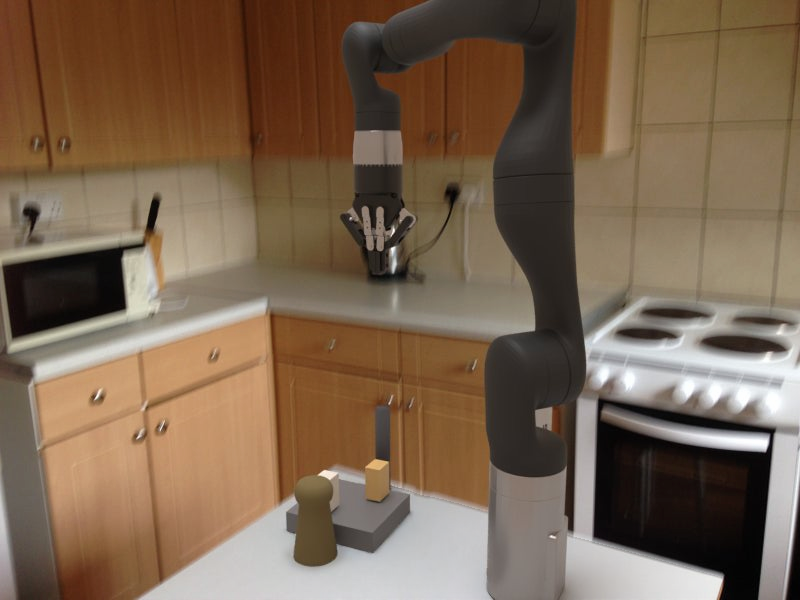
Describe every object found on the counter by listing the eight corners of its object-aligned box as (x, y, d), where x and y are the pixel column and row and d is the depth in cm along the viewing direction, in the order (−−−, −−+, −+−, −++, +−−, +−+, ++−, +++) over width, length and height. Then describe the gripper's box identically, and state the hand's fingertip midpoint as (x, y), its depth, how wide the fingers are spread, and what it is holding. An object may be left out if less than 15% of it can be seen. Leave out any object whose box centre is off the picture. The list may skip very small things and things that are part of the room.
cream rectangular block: (339, 504, 107) (338, 472, 106) (328, 514, 104) (327, 481, 103) (325, 501, 108) (324, 469, 107) (313, 511, 105) (312, 478, 104)
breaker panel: (409, 512, 111) (409, 494, 111) (372, 552, 100) (372, 532, 100) (330, 494, 117) (329, 477, 116) (286, 530, 106) (285, 511, 105)
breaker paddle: (389, 492, 110) (389, 461, 109) (379, 501, 108) (379, 470, 107) (375, 489, 111) (374, 459, 110) (365, 498, 109) (365, 467, 108)
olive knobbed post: (341, 543, 103) (339, 470, 100) (333, 567, 97) (331, 490, 94) (299, 541, 103) (296, 468, 101) (288, 565, 97) (285, 488, 95)
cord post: (393, 488, 119) (392, 406, 116) (386, 494, 117) (386, 411, 114) (379, 485, 120) (379, 404, 117) (373, 491, 118) (372, 409, 115)
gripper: (427, 161, 112) (426, 273, 115) (351, 161, 117) (353, 267, 121) (407, 162, 105) (407, 280, 109) (327, 161, 111) (330, 274, 114)
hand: (378, 273), depth 115 cm, fingers closed
